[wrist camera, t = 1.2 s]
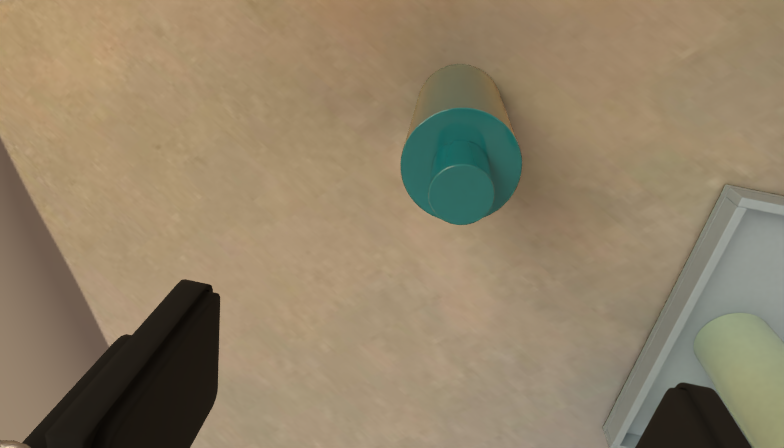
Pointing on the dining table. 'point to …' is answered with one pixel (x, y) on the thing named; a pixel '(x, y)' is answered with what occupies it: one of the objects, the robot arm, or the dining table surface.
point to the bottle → (746, 373)
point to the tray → (707, 303)
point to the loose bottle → (460, 147)
